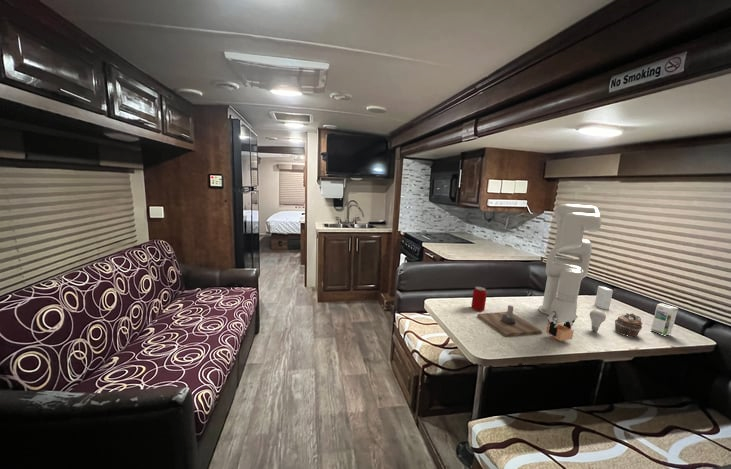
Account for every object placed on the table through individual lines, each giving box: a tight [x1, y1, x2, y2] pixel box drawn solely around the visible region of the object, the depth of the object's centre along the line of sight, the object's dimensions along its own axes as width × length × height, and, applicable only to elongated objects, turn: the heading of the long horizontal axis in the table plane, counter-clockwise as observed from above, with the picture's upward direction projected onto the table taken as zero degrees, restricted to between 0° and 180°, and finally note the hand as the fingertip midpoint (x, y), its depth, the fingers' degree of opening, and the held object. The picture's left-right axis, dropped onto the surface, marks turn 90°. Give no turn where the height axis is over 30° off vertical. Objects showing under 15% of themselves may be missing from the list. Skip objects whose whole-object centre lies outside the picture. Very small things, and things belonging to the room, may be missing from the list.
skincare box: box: [594, 285, 614, 310], centre depth 168 cm, size 6×4×12 cm
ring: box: [545, 322, 575, 341], centre depth 127 cm, size 7×7×4 cm
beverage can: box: [471, 286, 488, 312], centre depth 154 cm, size 7×7×12 cm
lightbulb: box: [589, 308, 607, 332], centre depth 137 cm, size 6×6×11 cm
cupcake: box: [614, 312, 643, 337], centre depth 137 cm, size 10×10×10 cm
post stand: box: [476, 304, 543, 338], centre depth 138 cm, size 20×20×10 cm
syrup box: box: [650, 303, 679, 336], centre depth 139 cm, size 6×6×14 cm
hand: (559, 333), depth 127 cm, fingers closed on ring, 7 cm apart
